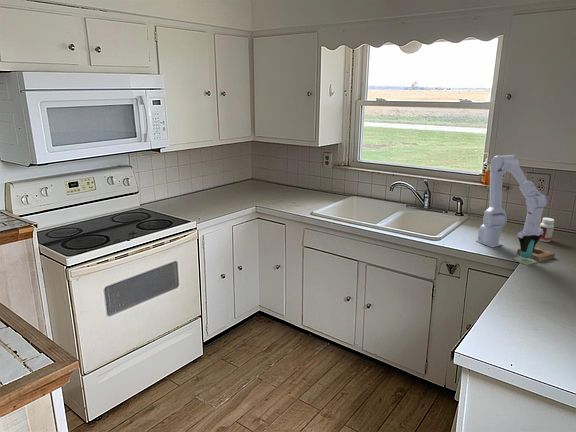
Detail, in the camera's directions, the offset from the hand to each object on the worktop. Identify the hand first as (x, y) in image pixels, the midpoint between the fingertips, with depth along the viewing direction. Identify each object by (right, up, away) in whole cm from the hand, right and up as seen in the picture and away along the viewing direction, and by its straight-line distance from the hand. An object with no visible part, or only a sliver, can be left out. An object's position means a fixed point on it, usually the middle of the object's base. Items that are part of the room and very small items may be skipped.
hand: (526, 250), depth 197 cm
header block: (+8, -3, +8) cm, 12 cm away
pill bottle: (+24, +3, +27) cm, 36 cm away
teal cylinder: (0, -3, +1) cm, 3 cm away
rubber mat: (0, -5, +2) cm, 5 cm away
